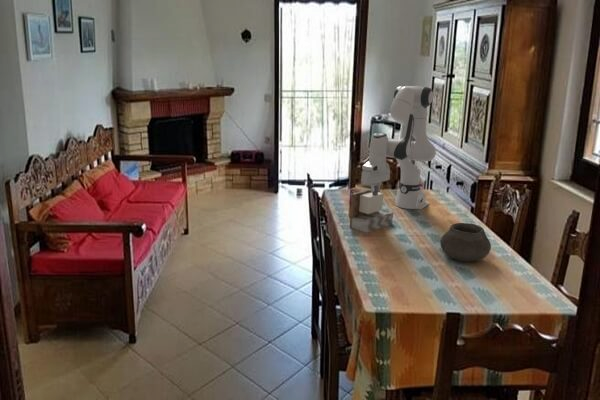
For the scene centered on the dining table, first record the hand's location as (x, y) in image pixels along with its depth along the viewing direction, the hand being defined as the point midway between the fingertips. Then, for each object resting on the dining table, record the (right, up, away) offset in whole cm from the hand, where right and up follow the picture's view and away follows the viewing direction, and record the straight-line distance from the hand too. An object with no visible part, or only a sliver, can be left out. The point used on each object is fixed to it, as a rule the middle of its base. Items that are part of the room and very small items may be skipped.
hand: (375, 190), depth 268 cm
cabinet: (-2, -10, +4) cm, 11 cm away
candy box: (-8, -14, +20) cm, 26 cm away
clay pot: (+35, -32, -33) cm, 58 cm away
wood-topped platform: (-1, -18, +6) cm, 19 cm away
